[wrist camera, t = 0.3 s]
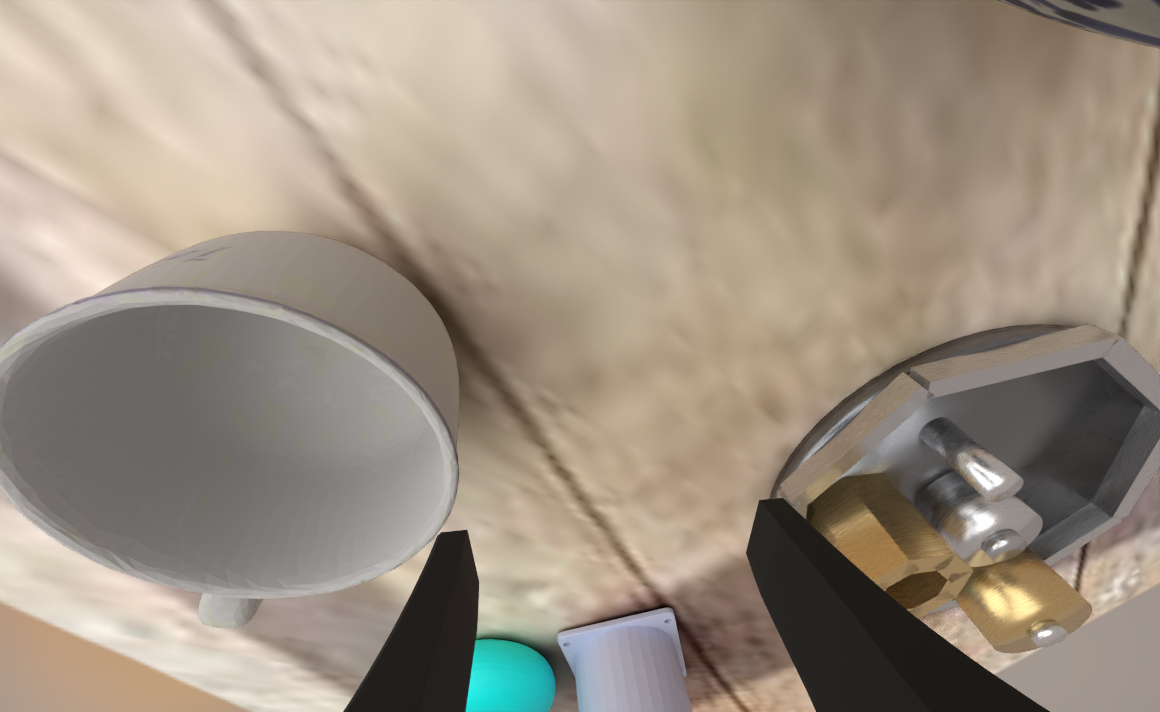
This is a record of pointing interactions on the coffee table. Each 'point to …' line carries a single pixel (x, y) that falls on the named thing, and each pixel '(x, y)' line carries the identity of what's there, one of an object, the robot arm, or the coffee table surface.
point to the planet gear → (889, 541)
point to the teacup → (237, 421)
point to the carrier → (1002, 460)
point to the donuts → (509, 679)
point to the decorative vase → (1103, 17)
